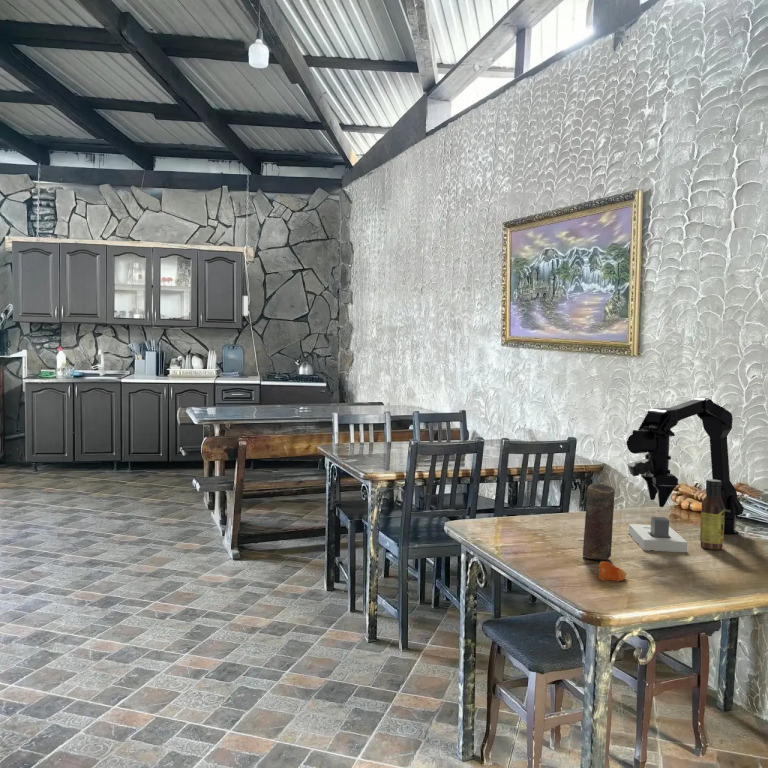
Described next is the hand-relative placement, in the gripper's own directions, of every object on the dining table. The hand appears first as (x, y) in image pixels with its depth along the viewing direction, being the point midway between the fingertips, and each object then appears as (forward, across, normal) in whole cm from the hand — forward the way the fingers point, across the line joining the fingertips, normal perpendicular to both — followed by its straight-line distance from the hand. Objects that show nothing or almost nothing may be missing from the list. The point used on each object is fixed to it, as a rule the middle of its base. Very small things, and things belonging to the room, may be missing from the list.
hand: (656, 503), depth 210 cm
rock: (+12, +36, -21) cm, 44 cm away
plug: (+12, +4, 0) cm, 12 cm away
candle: (+12, +20, -21) cm, 32 cm away
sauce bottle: (+12, +3, +15) cm, 19 cm away
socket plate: (+12, +1, 0) cm, 12 cm away
